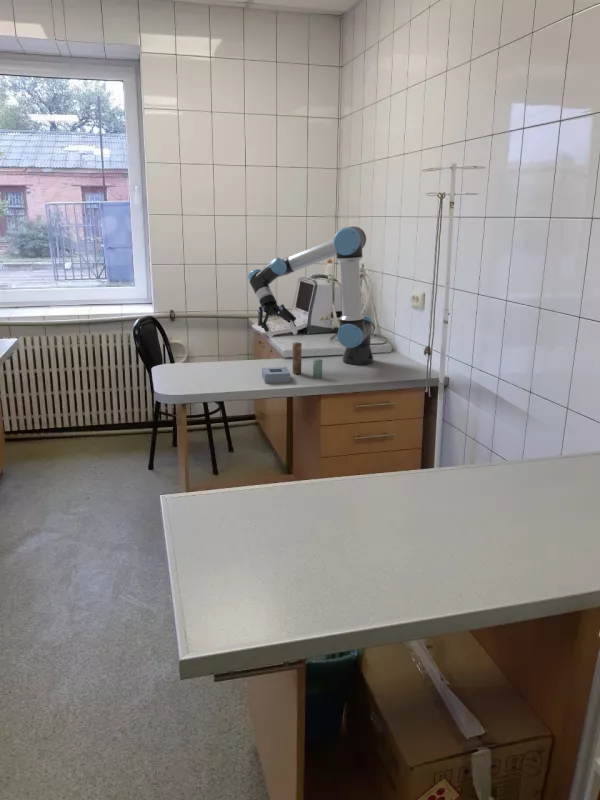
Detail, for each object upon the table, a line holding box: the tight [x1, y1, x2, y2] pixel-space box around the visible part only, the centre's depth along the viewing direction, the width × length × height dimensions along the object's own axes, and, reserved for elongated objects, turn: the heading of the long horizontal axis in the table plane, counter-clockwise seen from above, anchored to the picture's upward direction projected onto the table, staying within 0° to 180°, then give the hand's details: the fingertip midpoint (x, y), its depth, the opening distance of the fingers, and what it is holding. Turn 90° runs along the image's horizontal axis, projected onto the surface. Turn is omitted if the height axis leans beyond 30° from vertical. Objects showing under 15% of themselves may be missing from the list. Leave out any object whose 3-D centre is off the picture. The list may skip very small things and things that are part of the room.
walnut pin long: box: [292, 341, 302, 375], centre depth 282 cm, size 4×4×14 cm
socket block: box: [261, 366, 291, 384], centre depth 274 cm, size 11×11×4 cm
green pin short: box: [312, 358, 323, 379], centre depth 277 cm, size 4×4×8 cm
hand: (284, 335), depth 287 cm, fingers open, 13 cm apart
